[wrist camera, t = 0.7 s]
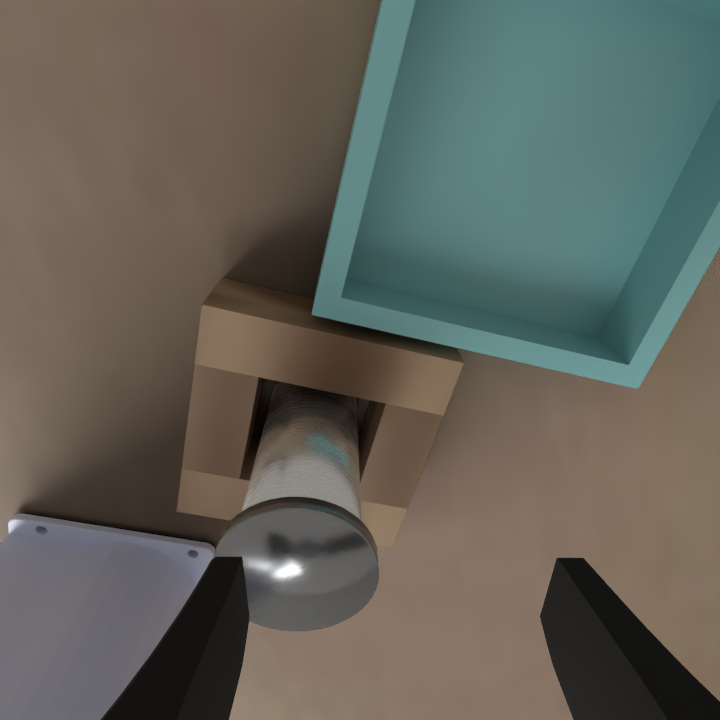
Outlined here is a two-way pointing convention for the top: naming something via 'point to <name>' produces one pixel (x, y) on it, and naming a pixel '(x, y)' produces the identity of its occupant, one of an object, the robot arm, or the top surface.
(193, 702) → the robot arm
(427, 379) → the hole block
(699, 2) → the tray
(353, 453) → the steel pin
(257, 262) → the top surface
